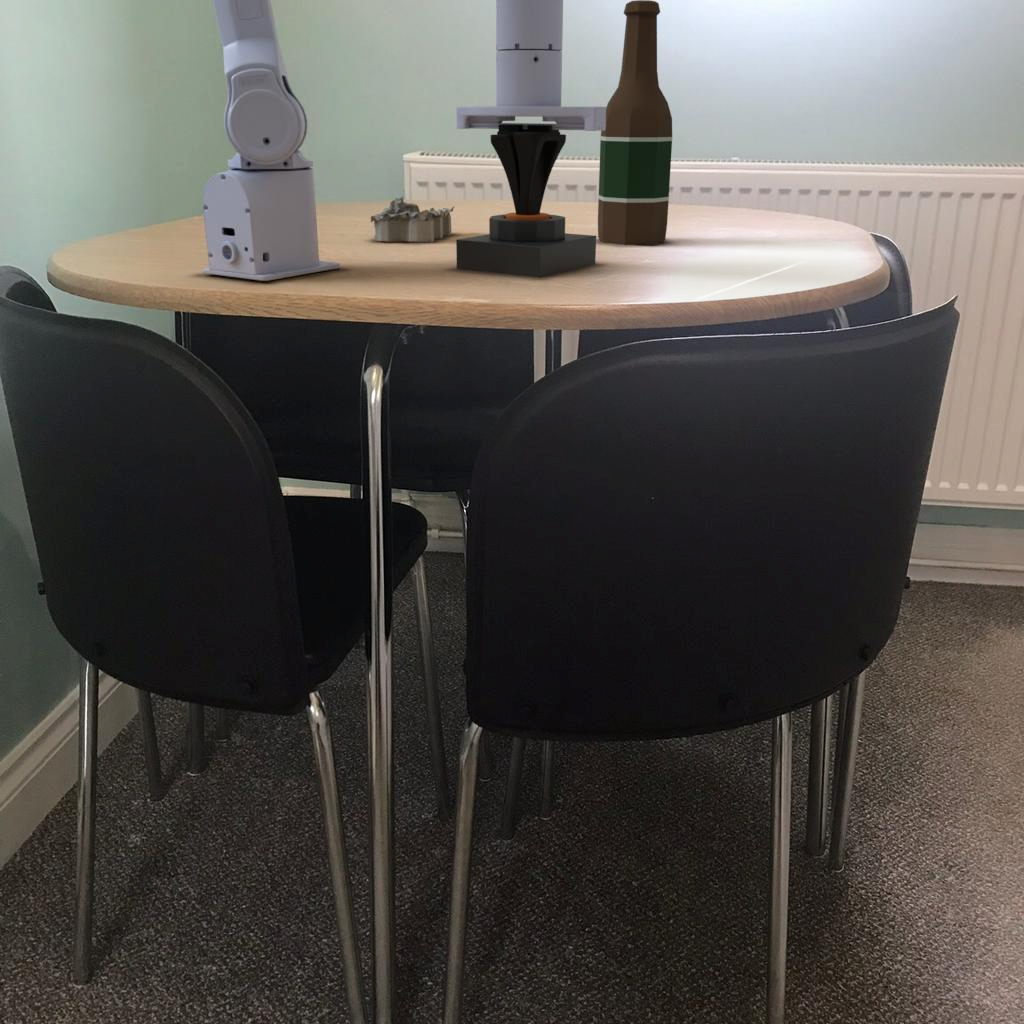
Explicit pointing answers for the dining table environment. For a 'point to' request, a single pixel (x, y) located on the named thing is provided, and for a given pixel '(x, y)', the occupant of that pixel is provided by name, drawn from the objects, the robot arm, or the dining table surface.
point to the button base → (526, 248)
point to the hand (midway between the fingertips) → (527, 214)
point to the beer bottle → (636, 141)
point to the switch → (527, 216)
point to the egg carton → (411, 223)
